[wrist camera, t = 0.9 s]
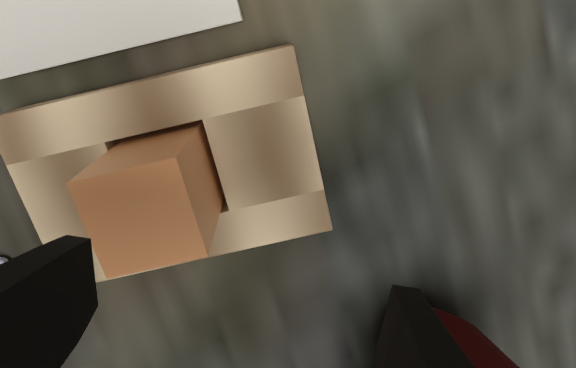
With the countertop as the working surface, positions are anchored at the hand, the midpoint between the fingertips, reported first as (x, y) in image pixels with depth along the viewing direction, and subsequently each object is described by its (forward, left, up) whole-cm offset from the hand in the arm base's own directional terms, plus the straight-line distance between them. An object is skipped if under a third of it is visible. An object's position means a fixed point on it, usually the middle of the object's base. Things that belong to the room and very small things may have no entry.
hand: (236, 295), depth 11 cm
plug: (-4, 0, -14) cm, 14 cm away
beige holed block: (-4, 0, -14) cm, 14 cm away
